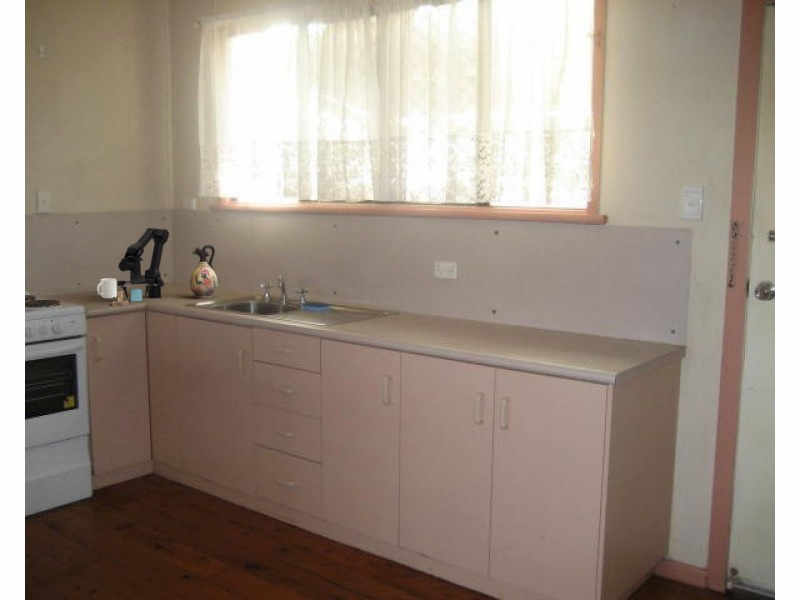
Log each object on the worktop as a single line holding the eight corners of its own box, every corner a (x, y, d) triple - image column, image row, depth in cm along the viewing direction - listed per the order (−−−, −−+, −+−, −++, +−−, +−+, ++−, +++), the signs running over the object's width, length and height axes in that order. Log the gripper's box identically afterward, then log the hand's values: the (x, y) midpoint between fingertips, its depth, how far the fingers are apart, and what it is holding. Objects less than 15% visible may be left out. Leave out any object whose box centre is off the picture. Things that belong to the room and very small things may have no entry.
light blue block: (142, 300, 438) (141, 288, 437) (142, 301, 432) (141, 289, 431) (131, 300, 436) (130, 288, 435) (131, 302, 431) (130, 289, 430)
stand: (128, 303, 426) (128, 290, 425) (128, 305, 419) (128, 292, 418) (112, 303, 424) (112, 290, 423) (112, 306, 416) (111, 292, 415)
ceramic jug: (191, 300, 438) (189, 245, 434) (189, 296, 453) (187, 243, 449) (222, 298, 444) (221, 245, 440) (219, 295, 458) (218, 243, 454)
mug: (102, 299, 440) (101, 281, 438) (92, 298, 444) (91, 280, 442) (120, 297, 450) (119, 278, 448) (110, 295, 454) (109, 277, 453)
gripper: (116, 271, 421) (118, 301, 423) (153, 270, 427) (154, 299, 429) (117, 269, 432) (118, 298, 434) (153, 268, 437) (154, 296, 440)
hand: (136, 298), depth 434 cm, fingers open, 9 cm apart
